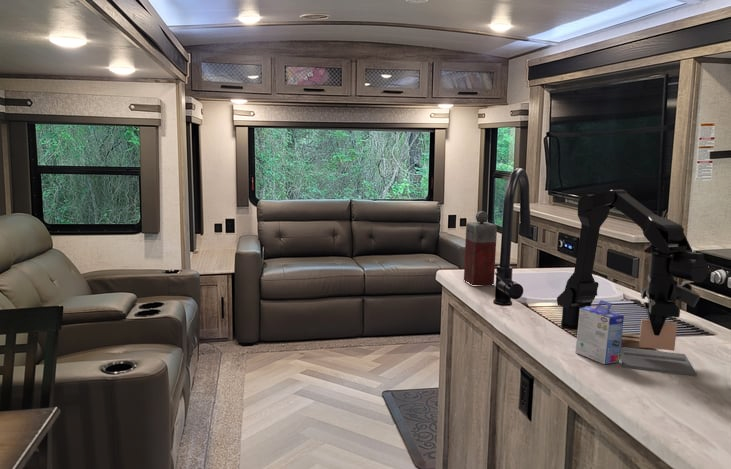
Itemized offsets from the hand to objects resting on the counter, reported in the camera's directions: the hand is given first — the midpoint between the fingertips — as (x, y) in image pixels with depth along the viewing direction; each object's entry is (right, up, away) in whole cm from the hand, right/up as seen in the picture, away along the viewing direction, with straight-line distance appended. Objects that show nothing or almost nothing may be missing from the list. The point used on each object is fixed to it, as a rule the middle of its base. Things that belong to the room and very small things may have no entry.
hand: (656, 334), depth 149 cm
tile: (0, -4, 0) cm, 4 cm away
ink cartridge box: (-14, -6, +2) cm, 16 cm away
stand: (-1, -5, +13) cm, 14 cm away
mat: (0, -7, 0) cm, 7 cm away
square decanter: (-30, +6, +82) cm, 87 cm away
